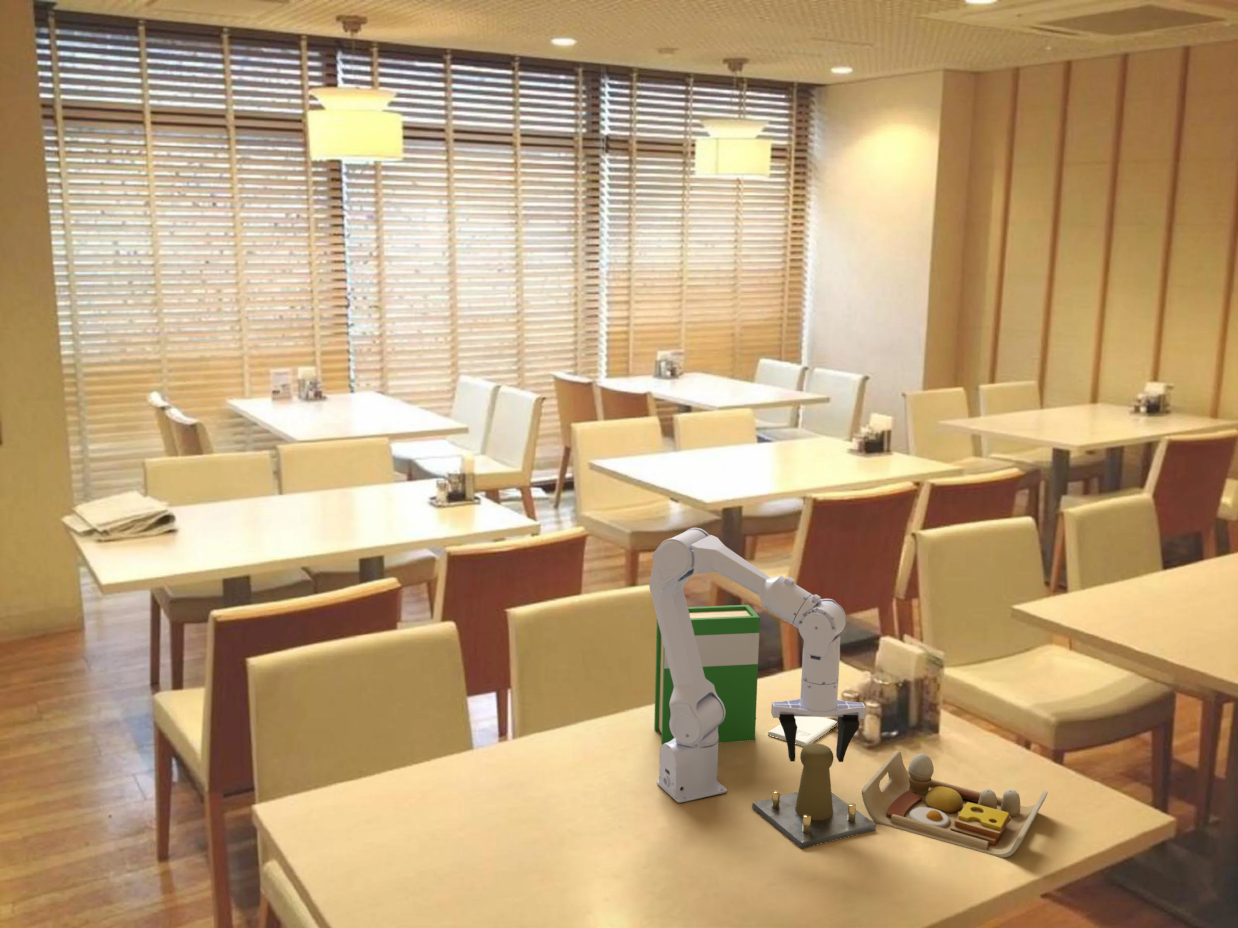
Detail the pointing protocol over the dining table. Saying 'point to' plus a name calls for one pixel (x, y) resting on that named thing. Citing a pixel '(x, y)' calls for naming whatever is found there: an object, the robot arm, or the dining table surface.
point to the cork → (815, 782)
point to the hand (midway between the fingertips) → (815, 758)
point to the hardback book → (718, 668)
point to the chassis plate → (810, 830)
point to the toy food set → (947, 808)
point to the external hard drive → (806, 729)
